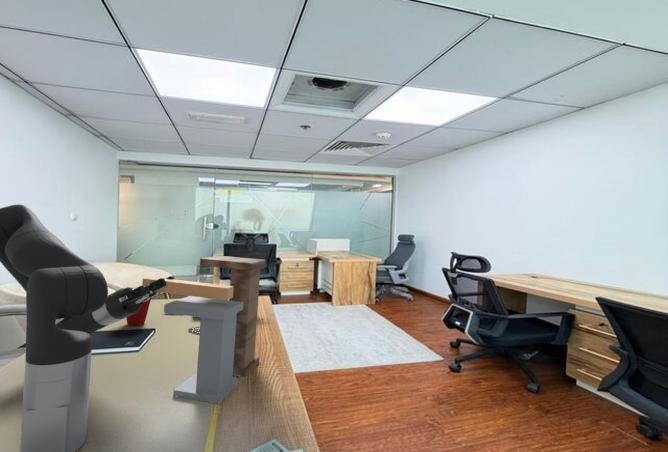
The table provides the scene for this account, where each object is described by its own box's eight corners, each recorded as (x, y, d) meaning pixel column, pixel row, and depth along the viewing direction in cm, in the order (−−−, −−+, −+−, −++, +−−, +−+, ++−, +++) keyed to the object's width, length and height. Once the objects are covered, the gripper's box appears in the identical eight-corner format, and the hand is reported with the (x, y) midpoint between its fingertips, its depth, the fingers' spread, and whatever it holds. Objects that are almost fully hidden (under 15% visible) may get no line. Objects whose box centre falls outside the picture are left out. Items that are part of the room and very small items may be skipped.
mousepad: (214, 328, 127) (214, 326, 127) (212, 335, 119) (212, 333, 119) (189, 328, 124) (189, 327, 124) (185, 335, 117) (185, 333, 117)
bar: (232, 297, 82) (233, 286, 82) (226, 300, 79) (227, 288, 79) (150, 287, 86) (151, 276, 86) (141, 290, 83) (142, 278, 83)
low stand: (238, 383, 85) (243, 302, 85) (218, 404, 75) (224, 311, 75) (184, 374, 88) (189, 295, 87) (158, 393, 78) (164, 304, 78)
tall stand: (259, 361, 99) (265, 259, 99) (244, 376, 89) (252, 263, 89) (211, 354, 101) (218, 255, 101) (193, 368, 91) (200, 258, 91)
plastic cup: (151, 318, 132) (152, 289, 132) (152, 326, 123) (154, 295, 123) (119, 321, 126) (121, 291, 126) (119, 329, 117) (121, 297, 117)
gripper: (88, 299, 79) (143, 270, 76) (132, 288, 93) (180, 264, 90) (99, 327, 78) (155, 299, 76) (142, 312, 92) (191, 288, 90)
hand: (168, 280), depth 83 cm, fingers closed on bar, 3 cm apart
